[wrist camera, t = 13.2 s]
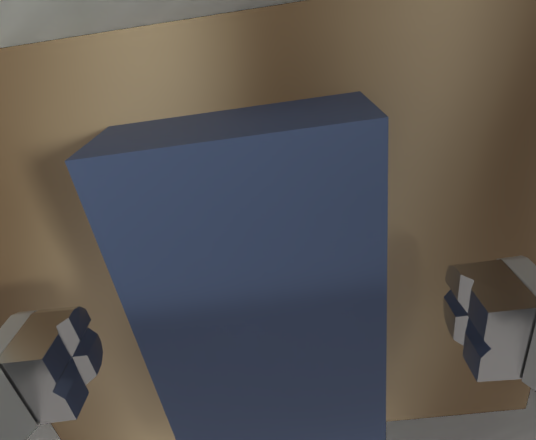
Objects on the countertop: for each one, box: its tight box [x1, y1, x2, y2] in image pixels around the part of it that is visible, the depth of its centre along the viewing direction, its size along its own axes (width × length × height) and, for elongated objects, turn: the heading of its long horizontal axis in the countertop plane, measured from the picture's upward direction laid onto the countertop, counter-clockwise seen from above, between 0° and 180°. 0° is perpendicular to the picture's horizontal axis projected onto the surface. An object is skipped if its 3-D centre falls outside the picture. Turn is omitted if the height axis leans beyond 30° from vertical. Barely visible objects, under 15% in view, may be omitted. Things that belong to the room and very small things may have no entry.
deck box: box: [65, 91, 389, 440], centre depth 10 cm, size 6×2×10 cm
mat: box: [0, 0, 536, 440], centre depth 11 cm, size 16×13×1 cm
